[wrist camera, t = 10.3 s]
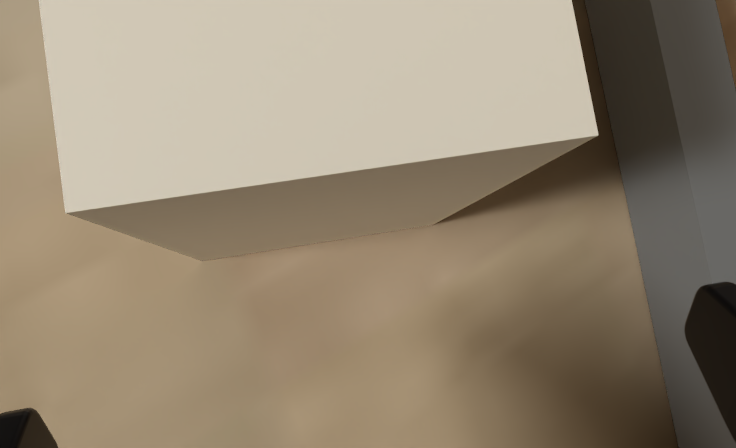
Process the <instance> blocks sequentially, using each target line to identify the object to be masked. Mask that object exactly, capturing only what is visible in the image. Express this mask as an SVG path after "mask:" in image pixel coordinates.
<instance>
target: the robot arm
mask: <svg viewBox="0 0 736 448" xmlns="http://www.w3.org/2000/svg"><path fill="white" fill-rule="evenodd" d="M684 332H685V337H686V341H687V343H688V345H689V347H690V350H691V352H692V354H693V356H694V358H695V360H696V362H697V365H698V367H699V369H700V371H701V373H702V375H703V377H704V379H705V382H706V384H707V386H708V388H709V390H710V392H711V394H712V396H713V399H714V401H715V403H716V405H717V407H718V409H719V411H720V413H721V416H722V418H723V420H724V422H725V424H726V426H727V428H728V430H729V432H730V434H731V436H732V437H733V439H734V441H735V443H736V284H734V283H731V282H719V283H713V284H708V285H703V286H701V287H700V288H699V289H698V290H697V292H696V294H695V296H694V299H693V302H692V305H691V308H690V311H689V313H688V316H687V319H686V322H685V327H684ZM0 448H58V446H57V443H56V441H55V440H54V438H53V436H52V435H51V433H50V431H49V430H48V428H47V426H46V425H45V423H44V421H43V420H42V418H41V416H40V415H39V413H38V412H37V411H36V410H34V409H32V408H25V409H20V410H14V411H9V412H4V413H1V414H0Z"/></svg>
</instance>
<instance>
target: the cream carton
mask: <svg viewBox="0 0 736 448" xmlns="http://www.w3.org/2000/svg"><path fill="white" fill-rule="evenodd" d="M39 6H40V14H41V22H42V30H43V38H44V46H45V54H46V62H47V70H48V78H49V86H50V94H51V102H52V110H53V118H54V126H55V134H56V142H57V150H58V158H59V166H60V174H61V182H62V190H63V198H64V206H65V213H67V214H70V215H73V216H75V217H78V218H81V219H84V220H87V221H90V222H92V223H95V224H98V225H101V226H104V227H107V228H109V229H112V230H115V231H118V232H121V233H124V234H127V235H129V236H132V237H135V238H138V239H141V240H144V241H146V242H149V243H152V244H155V245H158V246H161V247H163V248H166V249H169V250H172V251H175V252H178V253H180V254H183V255H186V256H189V257H192V258H195V259H198V260H200V261H207V260H213V259H220V258H226V257H232V256H239V255H245V254H252V253H258V252H264V251H271V250H277V249H283V248H290V247H296V246H303V245H309V244H315V243H322V242H328V241H334V240H341V239H347V238H353V237H360V236H366V235H373V234H379V233H385V232H392V231H398V230H404V229H411V228H417V227H424V226H430V225H434V224H435V223H437V222H439V221H441V220H443V219H445V218H446V217H448V216H450V215H452V214H454V213H456V212H458V211H459V210H461V209H463V208H465V207H467V206H469V205H471V204H472V203H474V202H476V201H478V200H480V199H482V198H484V197H485V196H487V195H489V194H491V193H493V192H495V191H497V190H498V189H500V188H502V187H504V186H506V185H508V184H509V183H511V182H513V181H515V180H517V179H519V178H521V177H522V176H524V175H526V174H528V173H530V172H532V171H534V170H535V169H537V168H539V167H541V166H543V165H545V164H547V163H548V162H550V161H552V160H554V159H556V158H558V157H560V156H561V155H563V154H565V153H567V152H569V151H571V150H572V149H574V148H576V147H578V146H580V145H582V144H584V143H585V142H587V141H589V140H591V139H593V138H595V137H597V136H598V130H597V125H596V120H595V115H594V110H593V105H592V100H591V94H590V89H589V84H588V79H587V74H586V69H585V64H584V59H583V54H582V49H581V44H580V39H579V34H578V29H577V24H576V19H575V14H574V9H573V4H572V0H39Z"/></svg>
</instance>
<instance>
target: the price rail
mask: <svg viewBox="0 0 736 448" xmlns="http://www.w3.org/2000/svg"><path fill="white" fill-rule="evenodd" d="M585 4H586V9H587V14H588V18H589V23H590V28H591V33H592V37H593V42H594V47H595V52H596V57H597V61H598V66H599V71H600V76H601V80H602V85H603V90H604V95H605V99H606V104H607V109H608V114H609V118H610V123H611V128H612V133H613V137H614V142H615V147H616V152H617V156H618V161H619V166H620V171H621V176H622V180H623V185H624V190H625V195H626V199H627V204H628V209H629V214H630V218H631V223H632V228H633V233H634V237H635V242H636V247H637V252H638V256H639V261H640V266H641V271H642V275H643V280H644V285H645V290H646V295H647V299H648V304H649V309H650V314H651V318H652V323H653V328H654V333H655V337H656V342H657V347H658V352H659V356H660V361H661V366H662V371H663V375H664V380H665V385H666V390H667V394H668V399H669V404H670V409H671V414H672V418H673V423H674V428H675V433H676V437H677V442H678V447H679V448H736V443H735V441H734V439H733V437H732V436H731V434H730V432H729V430H728V428H727V426H726V424H725V422H724V420H723V418H722V416H721V413H720V411H719V409H718V407H717V405H716V403H715V401H714V399H713V396H712V394H711V392H710V390H709V388H708V386H707V384H706V382H705V379H704V377H703V375H702V373H701V371H700V369H699V367H698V365H697V362H696V360H695V358H694V356H693V354H692V352H691V350H690V347H689V345H688V343H687V341H686V337H685V332H684V327H685V322H686V319H687V316H688V313H689V311H690V308H691V305H692V302H693V299H694V296H695V294H696V292H697V290H698V289H699V288H700V287H701V286H703V285H708V284H713V283H719V282H731V283H734V284H736V89H735V84H734V80H733V76H732V71H731V67H730V62H729V58H728V54H727V49H726V45H725V41H724V36H723V32H722V27H721V23H720V19H719V14H718V10H717V6H716V1H715V0H585Z"/></svg>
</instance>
